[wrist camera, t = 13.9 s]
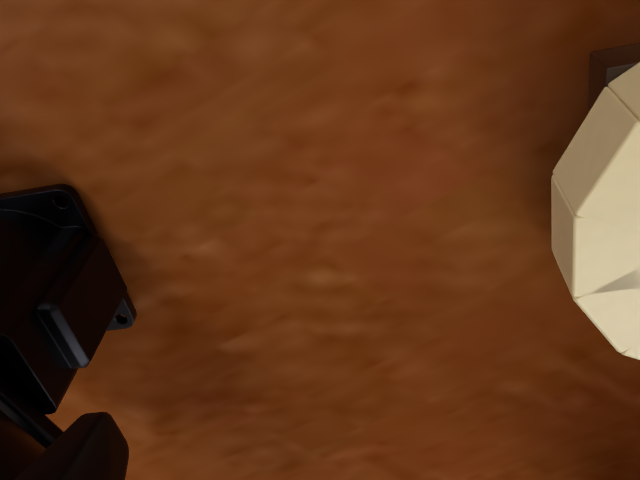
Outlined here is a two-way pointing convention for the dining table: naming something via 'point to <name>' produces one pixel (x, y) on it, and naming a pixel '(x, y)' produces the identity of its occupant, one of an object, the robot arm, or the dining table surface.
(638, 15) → the dining table surface
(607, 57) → the stand
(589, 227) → the tape
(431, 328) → the dining table surface
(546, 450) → the dining table surface
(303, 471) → the dining table surface
